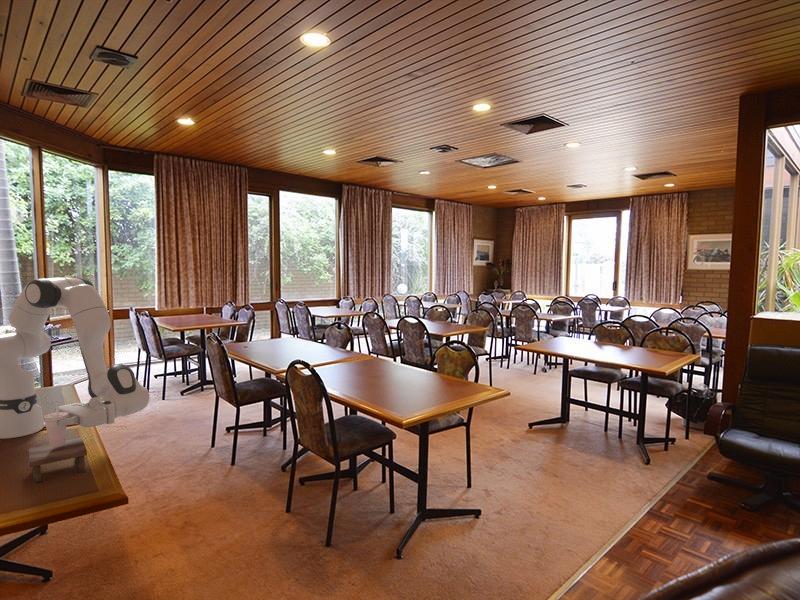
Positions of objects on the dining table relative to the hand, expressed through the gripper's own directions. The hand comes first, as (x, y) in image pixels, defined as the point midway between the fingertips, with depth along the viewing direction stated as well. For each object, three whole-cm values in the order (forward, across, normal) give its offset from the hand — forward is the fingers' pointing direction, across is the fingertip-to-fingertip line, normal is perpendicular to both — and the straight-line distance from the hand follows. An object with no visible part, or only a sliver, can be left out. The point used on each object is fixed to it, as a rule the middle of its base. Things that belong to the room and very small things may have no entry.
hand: (52, 421), depth 146 cm
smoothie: (-1, 0, +8) cm, 8 cm away
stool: (-1, 0, +16) cm, 16 cm away
